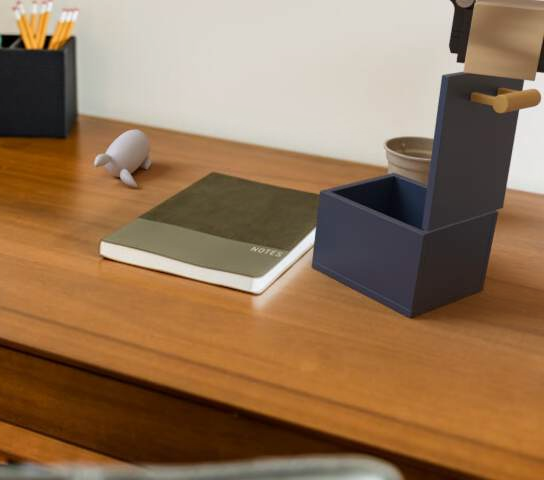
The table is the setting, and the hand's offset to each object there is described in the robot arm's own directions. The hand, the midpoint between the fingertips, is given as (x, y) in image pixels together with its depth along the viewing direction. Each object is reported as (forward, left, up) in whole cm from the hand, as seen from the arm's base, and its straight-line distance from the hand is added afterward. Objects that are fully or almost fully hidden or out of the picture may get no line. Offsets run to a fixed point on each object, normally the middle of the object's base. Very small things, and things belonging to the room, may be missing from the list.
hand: (502, 64), depth 62 cm
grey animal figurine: (+60, +6, -28) cm, 66 cm away
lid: (+15, -13, -12) cm, 23 cm away
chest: (+21, -11, -28) cm, 37 cm away
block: (0, 0, 0) cm, 0 cm away
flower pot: (+37, -24, -28) cm, 52 cm away
